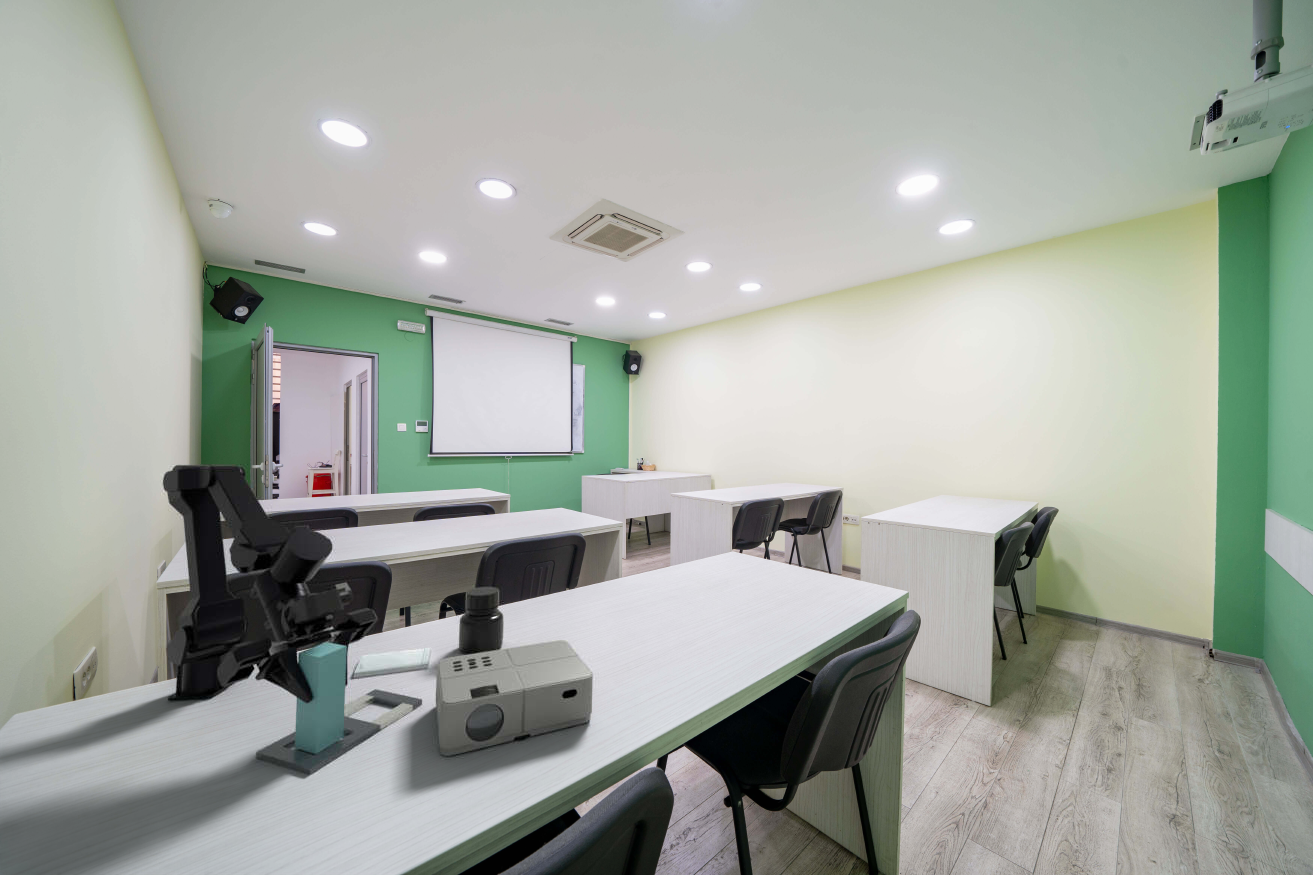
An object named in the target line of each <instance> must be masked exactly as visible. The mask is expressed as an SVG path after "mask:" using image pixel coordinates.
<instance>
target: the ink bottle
mask: <svg viewBox="0 0 1313 875" xmlns="http://www.w3.org/2000/svg"><path fill="white" fill-rule="evenodd" d="M464 602H465V604H464V605H465V613H463V614H462V615H461V617H460V619H459V623H458V624H459V626H458V627H459V630H458V650H459V651H460V653H461V654H464V655H469V654H475V653H481V652H488V651H494V650H500V648H501V647H502V645H503V642H504V641H503V639H504V614H503V612H502V611H500V610H499V606H500V589H499V588H498V587H494V586H482V587H480V586H479V587H474V588H469V590H468V589H467V591H465V601H464Z"/></svg>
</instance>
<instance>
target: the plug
mask: <svg viewBox="0 0 1313 875" xmlns="http://www.w3.org/2000/svg"><path fill="white" fill-rule="evenodd" d="M346 652H347V646H343V645H338V644H333V643H328V642H326V643H320V644H317V645H314V646H312V647H309V648H308V649H306V650H305V649H304V650H303V651H300V652H298V655H297V661H298V664H299V666H300V668H301V670H302V672H303V675H304V677H305V679H306V681H307V683H308V685H309V687H310V690H311V693H312V697H313V699H312V700H311V702H309V703H305V702H303V701H302V700H300V699H299V698H297V697H296V708H295V709H296V710H295V731H294V732H295V746H294V749H297V750H301V751H302V752H303V751H304V752H307V753H310V754H314V755H317V754H318V753H320V752H322V751H323V750H325V749H327V748H328V747H330V746H332V745H333V744H335V743H337V742H338V741H340V740H342V739H343V738H344V734H343V733H344V706H345V705H346V704H345V700H346V698H345V697H346V687H345V679H346Z"/></svg>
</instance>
